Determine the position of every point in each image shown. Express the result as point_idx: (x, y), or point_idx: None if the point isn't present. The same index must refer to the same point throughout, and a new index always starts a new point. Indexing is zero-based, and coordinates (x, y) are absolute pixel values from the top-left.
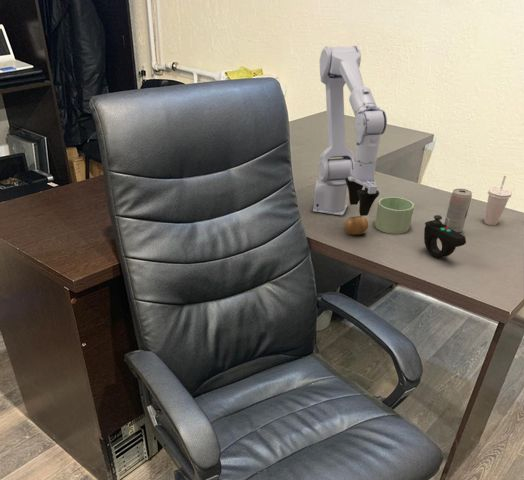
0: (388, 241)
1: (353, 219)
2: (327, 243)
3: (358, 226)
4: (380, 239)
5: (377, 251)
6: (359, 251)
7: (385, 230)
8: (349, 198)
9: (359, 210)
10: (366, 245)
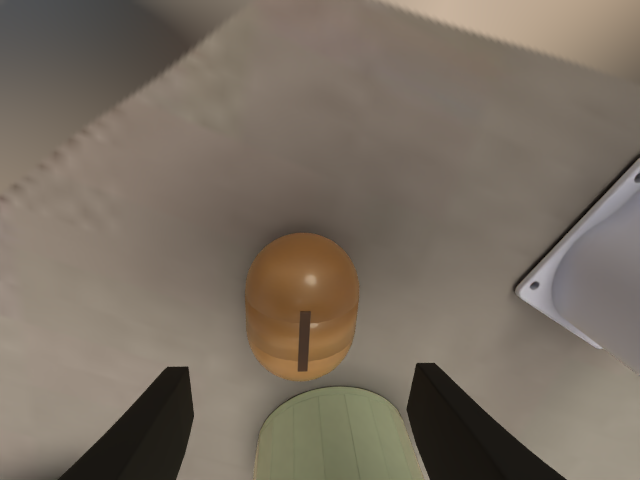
0: None
1: (281, 306)
2: (196, 62)
3: (246, 308)
4: (214, 365)
5: (77, 311)
6: (74, 223)
7: (282, 411)
8: (463, 397)
9: (162, 396)
10: (151, 284)
